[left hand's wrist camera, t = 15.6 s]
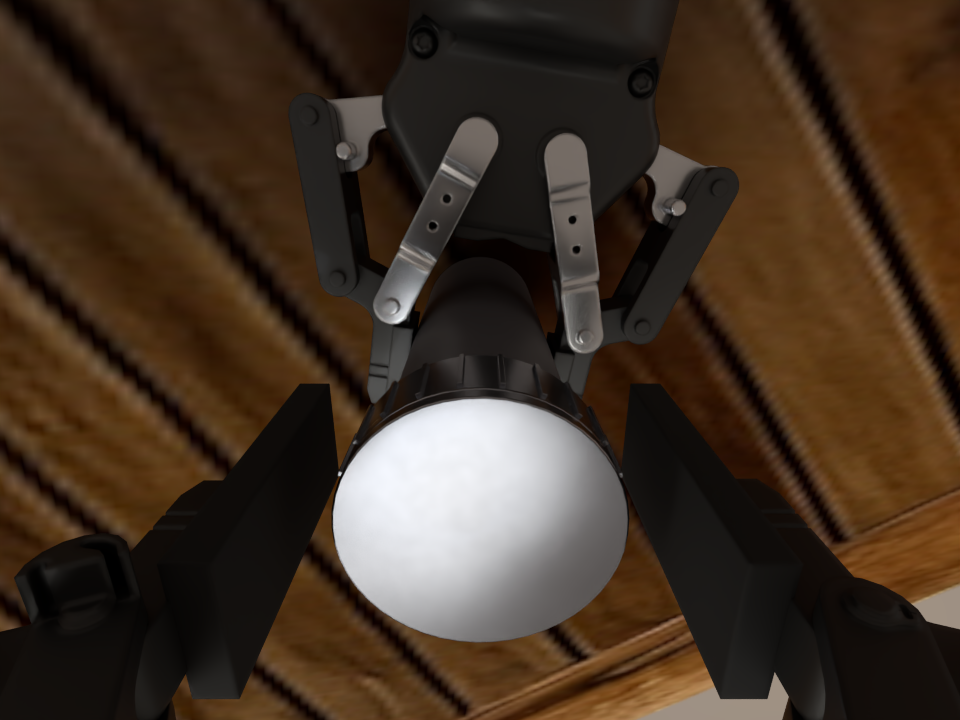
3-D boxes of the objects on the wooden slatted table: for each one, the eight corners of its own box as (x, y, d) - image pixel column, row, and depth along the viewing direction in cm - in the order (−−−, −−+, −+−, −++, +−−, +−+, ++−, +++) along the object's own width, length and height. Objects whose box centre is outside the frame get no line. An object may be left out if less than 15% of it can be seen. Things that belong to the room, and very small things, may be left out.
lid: (517, 606, 14) (524, 684, 12) (309, 506, 13) (276, 571, 11) (660, 434, 12) (696, 490, 10) (432, 299, 11) (422, 332, 9)
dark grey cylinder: (411, 326, 26) (323, 544, 11) (459, 237, 25) (429, 357, 10) (498, 371, 27) (520, 630, 12) (550, 288, 25) (646, 469, 11)
